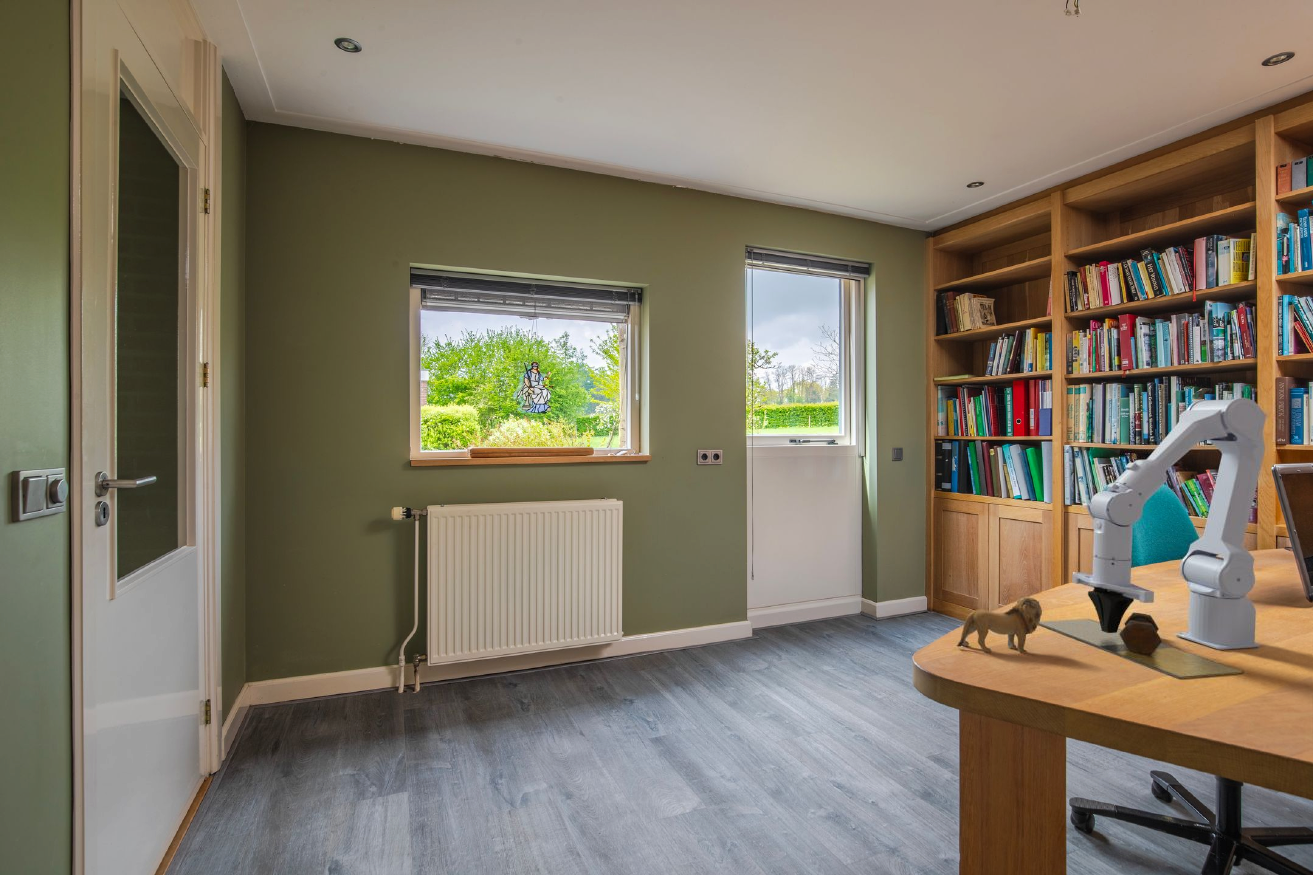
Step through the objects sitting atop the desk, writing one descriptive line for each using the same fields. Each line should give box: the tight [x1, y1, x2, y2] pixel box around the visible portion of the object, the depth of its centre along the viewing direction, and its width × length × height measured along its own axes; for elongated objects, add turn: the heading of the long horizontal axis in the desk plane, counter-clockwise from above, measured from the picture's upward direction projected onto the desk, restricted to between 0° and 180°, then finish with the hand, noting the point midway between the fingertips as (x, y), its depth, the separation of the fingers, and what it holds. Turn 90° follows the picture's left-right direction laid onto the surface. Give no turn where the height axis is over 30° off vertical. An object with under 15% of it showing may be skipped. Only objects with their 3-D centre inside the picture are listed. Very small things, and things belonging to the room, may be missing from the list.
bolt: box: [1119, 612, 1163, 655], centre depth 116 cm, size 6×5×15 cm
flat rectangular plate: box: [1038, 618, 1245, 680], centre depth 115 cm, size 13×28×1 cm, turn 13°
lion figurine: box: [956, 596, 1043, 655], centre depth 112 cm, size 15×5×9 cm, turn 95°
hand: (1109, 631), depth 119 cm, fingers closed
